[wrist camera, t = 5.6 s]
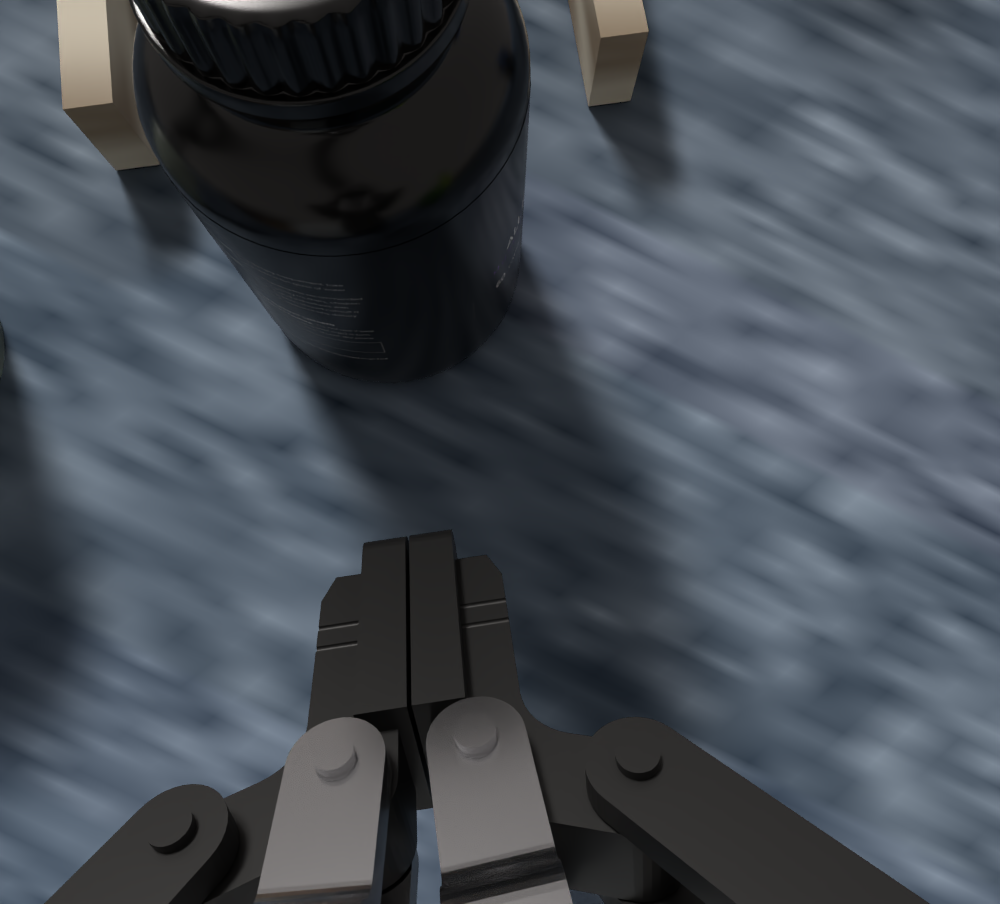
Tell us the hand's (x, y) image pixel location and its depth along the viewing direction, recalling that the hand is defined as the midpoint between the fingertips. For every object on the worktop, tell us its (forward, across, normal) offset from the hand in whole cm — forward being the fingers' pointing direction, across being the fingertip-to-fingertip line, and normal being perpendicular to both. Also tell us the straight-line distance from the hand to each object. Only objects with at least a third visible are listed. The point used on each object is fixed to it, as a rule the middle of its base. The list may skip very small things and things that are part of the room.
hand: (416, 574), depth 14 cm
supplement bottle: (+11, 0, -1) cm, 11 cm away
